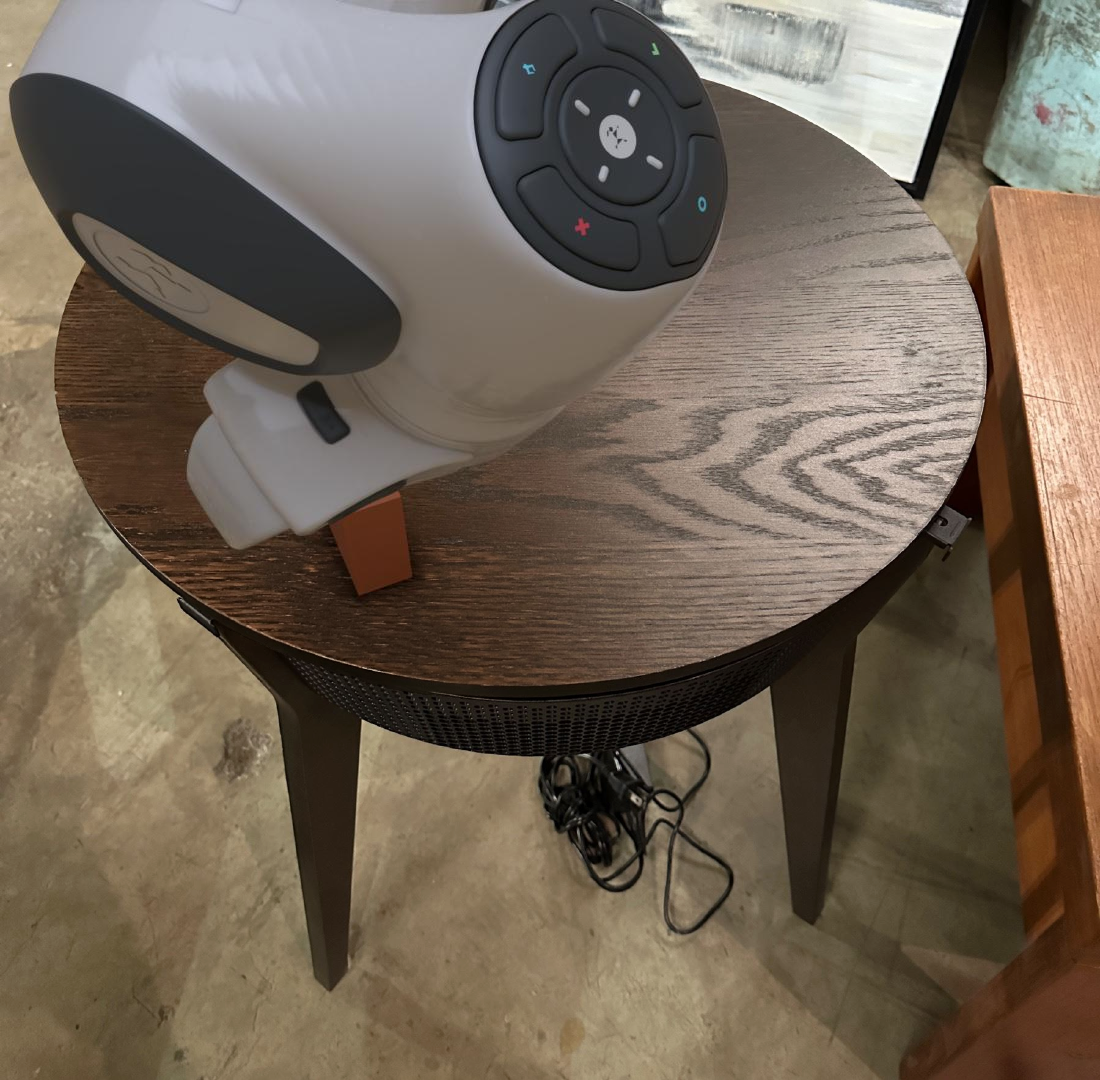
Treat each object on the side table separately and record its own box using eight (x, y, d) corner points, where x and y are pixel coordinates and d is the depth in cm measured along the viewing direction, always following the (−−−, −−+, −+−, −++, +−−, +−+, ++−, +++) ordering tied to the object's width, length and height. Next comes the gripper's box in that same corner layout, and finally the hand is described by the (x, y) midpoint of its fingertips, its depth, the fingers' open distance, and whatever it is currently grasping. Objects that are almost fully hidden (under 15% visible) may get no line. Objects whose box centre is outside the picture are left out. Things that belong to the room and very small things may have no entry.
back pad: (358, 596, 72) (341, 516, 65) (328, 524, 76) (308, 441, 69) (412, 577, 73) (401, 496, 66) (380, 507, 77) (366, 424, 70)
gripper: (618, 159, 42) (517, 282, 55) (159, 402, 35) (168, 477, 48) (700, 293, 42) (580, 383, 55) (264, 559, 35) (244, 591, 48)
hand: (386, 428), depth 51 cm, fingers open, 8 cm apart
